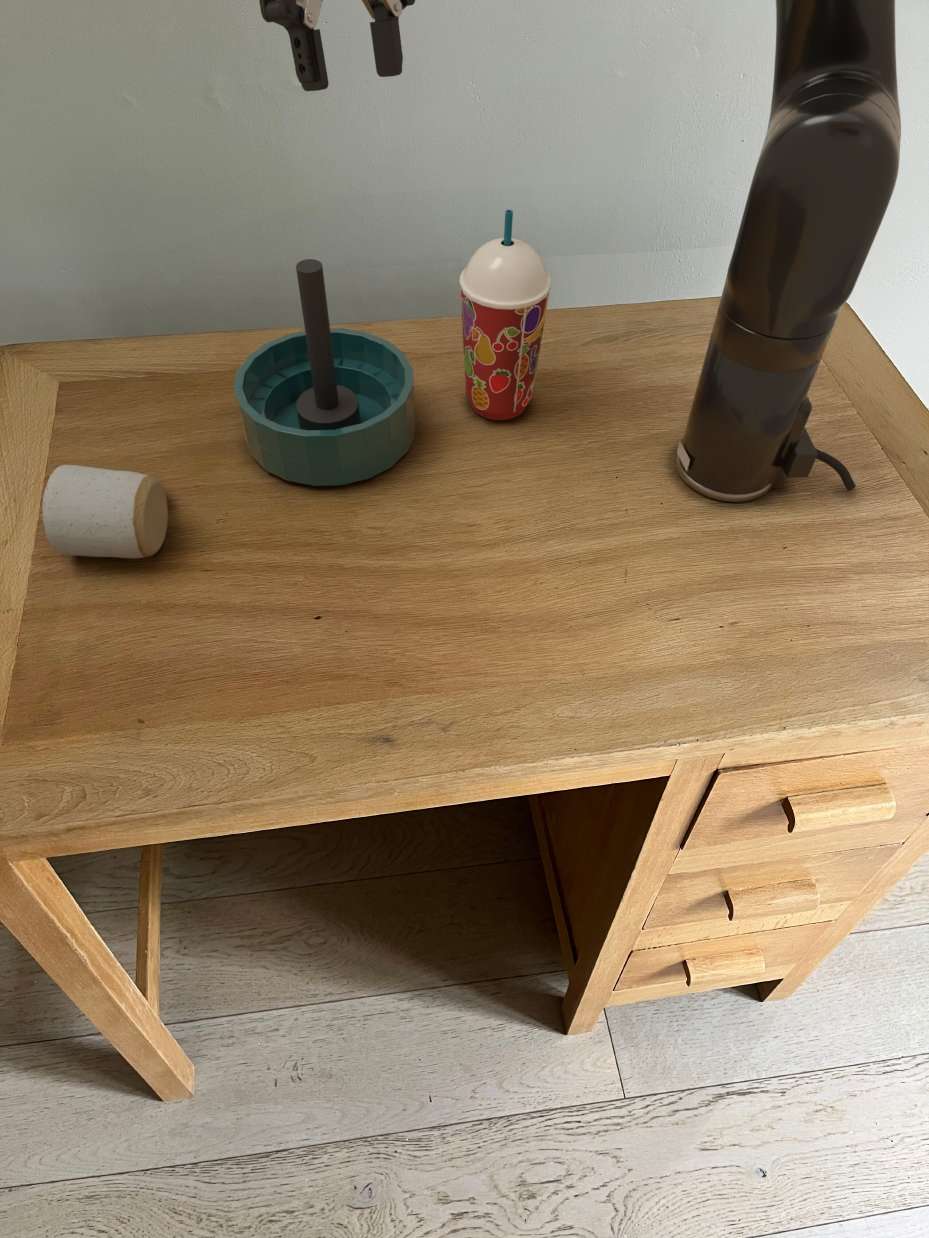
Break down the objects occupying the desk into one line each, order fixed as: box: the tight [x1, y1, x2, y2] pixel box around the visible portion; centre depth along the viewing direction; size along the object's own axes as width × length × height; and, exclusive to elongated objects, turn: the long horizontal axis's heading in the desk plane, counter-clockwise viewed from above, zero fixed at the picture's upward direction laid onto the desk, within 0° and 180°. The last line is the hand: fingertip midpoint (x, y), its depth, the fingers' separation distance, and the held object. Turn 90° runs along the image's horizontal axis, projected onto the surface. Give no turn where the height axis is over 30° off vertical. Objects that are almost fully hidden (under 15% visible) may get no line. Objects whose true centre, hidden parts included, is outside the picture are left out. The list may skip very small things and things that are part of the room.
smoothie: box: [458, 209, 552, 421], centre depth 81 cm, size 8×8×20 cm
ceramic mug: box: [41, 464, 169, 559], centre depth 73 cm, size 11×8×8 cm
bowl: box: [233, 327, 416, 487], centre depth 83 cm, size 17×17×6 cm
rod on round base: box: [295, 258, 361, 430], centre depth 78 cm, size 6×6×17 cm
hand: (354, 83), depth 67 cm, fingers open, 8 cm apart
